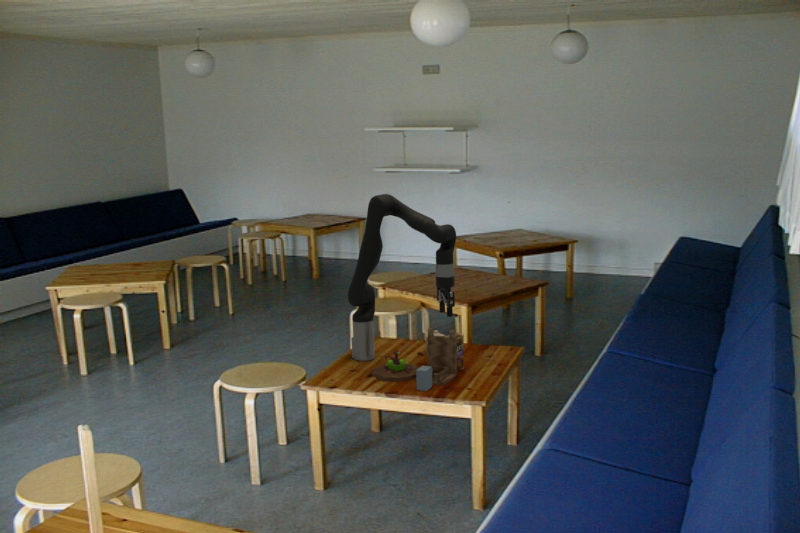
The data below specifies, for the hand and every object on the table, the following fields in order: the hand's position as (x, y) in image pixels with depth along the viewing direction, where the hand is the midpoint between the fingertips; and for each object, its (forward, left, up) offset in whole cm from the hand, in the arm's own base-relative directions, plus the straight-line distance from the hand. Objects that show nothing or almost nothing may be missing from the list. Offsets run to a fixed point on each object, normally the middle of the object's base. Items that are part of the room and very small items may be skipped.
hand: (446, 314), depth 302 cm
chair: (-3, -4, -26) cm, 27 cm away
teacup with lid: (-16, +26, -26) cm, 40 cm away
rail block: (-3, -16, -26) cm, 31 cm away
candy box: (-1, +9, -26) cm, 28 cm away
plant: (-21, -4, -27) cm, 34 cm away
